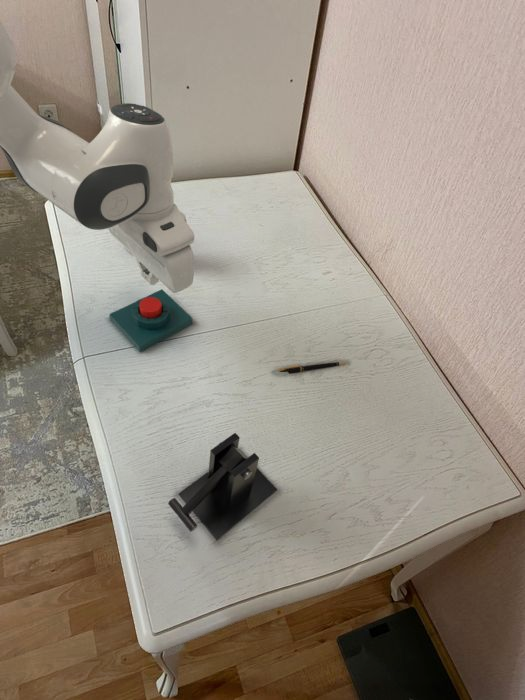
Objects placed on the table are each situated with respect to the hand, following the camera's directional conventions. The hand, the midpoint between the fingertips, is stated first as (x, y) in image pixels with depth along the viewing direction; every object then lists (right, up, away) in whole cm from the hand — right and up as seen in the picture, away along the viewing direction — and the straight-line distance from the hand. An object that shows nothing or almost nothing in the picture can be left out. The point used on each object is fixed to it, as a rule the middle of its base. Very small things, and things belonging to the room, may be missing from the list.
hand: (150, 279), depth 89 cm
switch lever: (+13, -31, -19) cm, 39 cm away
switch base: (+15, -35, -12) cm, 39 cm away
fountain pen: (+29, -16, +6) cm, 34 cm away
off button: (-1, -5, +6) cm, 8 cm away
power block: (-2, -7, +9) cm, 12 cm away
